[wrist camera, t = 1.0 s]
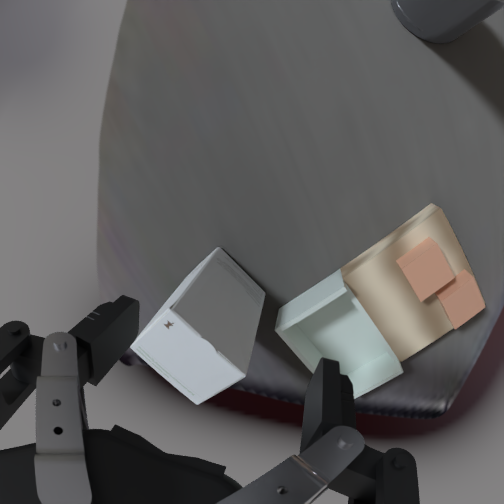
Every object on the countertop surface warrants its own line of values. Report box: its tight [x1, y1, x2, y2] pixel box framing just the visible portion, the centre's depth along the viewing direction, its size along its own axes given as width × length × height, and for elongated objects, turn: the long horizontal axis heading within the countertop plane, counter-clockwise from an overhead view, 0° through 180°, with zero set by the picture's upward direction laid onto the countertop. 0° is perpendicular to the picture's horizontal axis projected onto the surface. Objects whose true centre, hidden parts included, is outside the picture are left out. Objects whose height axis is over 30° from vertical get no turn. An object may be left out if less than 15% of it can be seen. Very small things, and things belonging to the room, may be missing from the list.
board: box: [340, 203, 485, 362], centre depth 33 cm, size 13×14×3 cm
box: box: [275, 269, 403, 399], centre depth 36 cm, size 9×14×5 cm, turn 39°
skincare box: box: [130, 247, 266, 405], centre depth 31 cm, size 8×7×16 cm
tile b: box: [435, 269, 485, 329], centre depth 30 cm, size 4×4×2 cm
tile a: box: [396, 237, 455, 302], centre depth 29 cm, size 4×4×2 cm
